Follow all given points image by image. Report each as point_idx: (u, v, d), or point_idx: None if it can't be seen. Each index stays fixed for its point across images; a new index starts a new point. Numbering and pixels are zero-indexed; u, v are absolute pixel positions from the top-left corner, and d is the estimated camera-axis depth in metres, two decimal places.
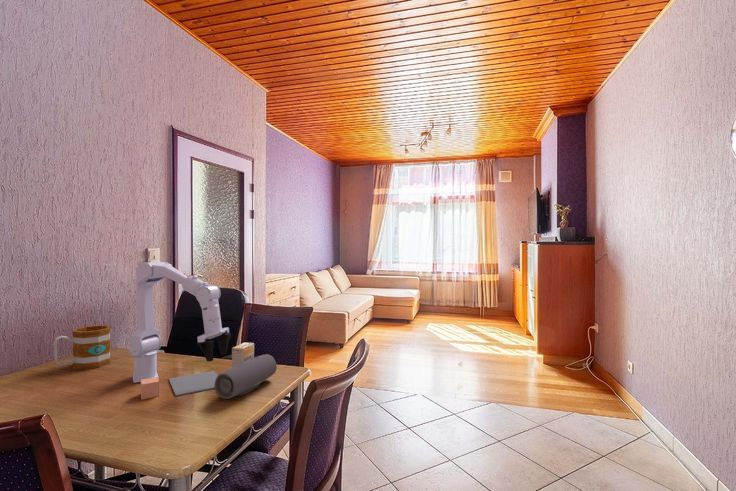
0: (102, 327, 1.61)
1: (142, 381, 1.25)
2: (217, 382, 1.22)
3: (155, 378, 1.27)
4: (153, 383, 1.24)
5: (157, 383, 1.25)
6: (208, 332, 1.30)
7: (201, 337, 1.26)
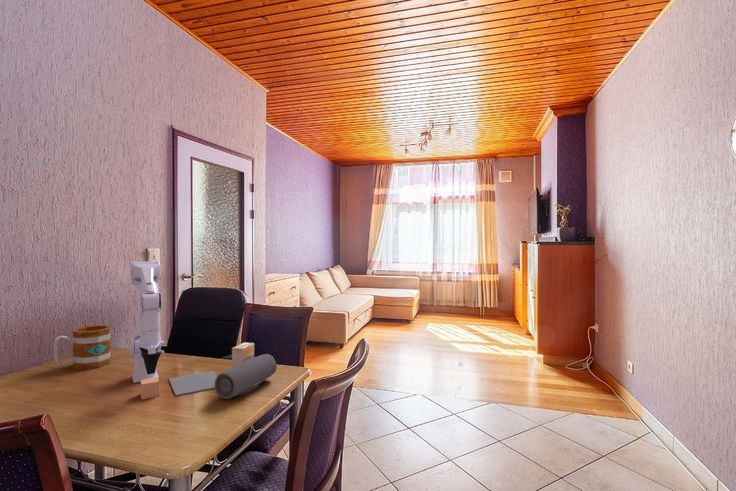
0: (102, 327, 1.61)
1: (142, 381, 1.25)
2: (217, 382, 1.22)
3: (155, 378, 1.27)
4: (153, 383, 1.24)
5: (157, 383, 1.25)
6: (151, 343, 1.23)
7: (154, 348, 1.20)
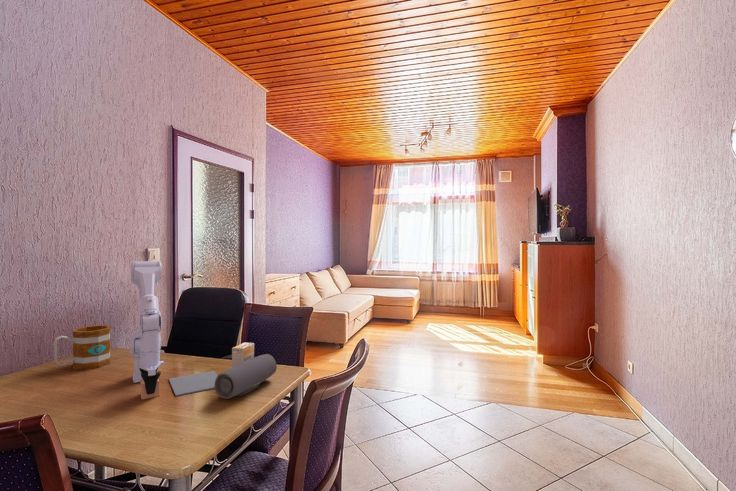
0: (102, 327, 1.61)
1: (142, 381, 1.25)
2: (217, 382, 1.22)
3: None
4: None
5: (157, 383, 1.25)
6: (151, 364, 1.23)
7: (154, 370, 1.20)
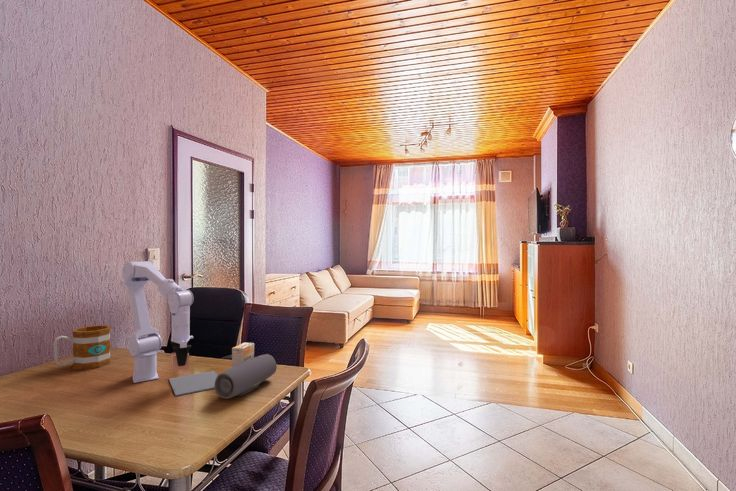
0: (102, 327, 1.61)
1: (173, 354, 1.31)
2: (217, 382, 1.22)
3: None
4: None
5: (187, 356, 1.31)
6: (182, 338, 1.30)
7: (185, 342, 1.27)
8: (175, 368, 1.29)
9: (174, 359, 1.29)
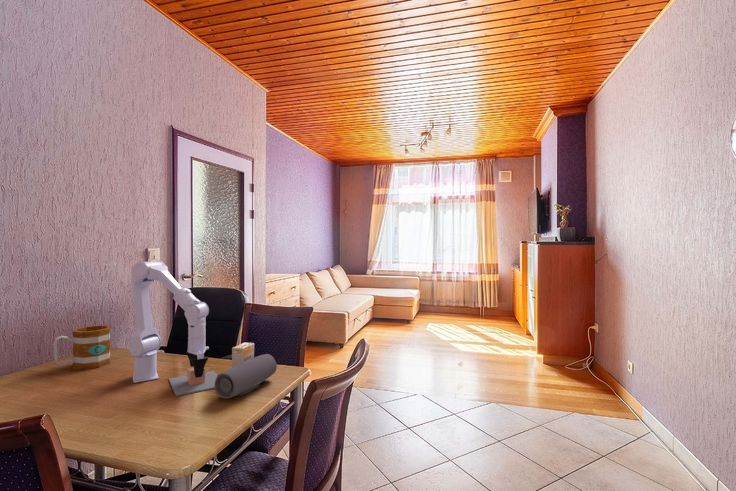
0: (102, 327, 1.61)
1: (189, 368, 1.35)
2: (217, 382, 1.22)
3: None
4: None
5: None
6: (198, 349, 1.34)
7: (202, 354, 1.31)
8: (192, 382, 1.33)
9: (191, 374, 1.33)
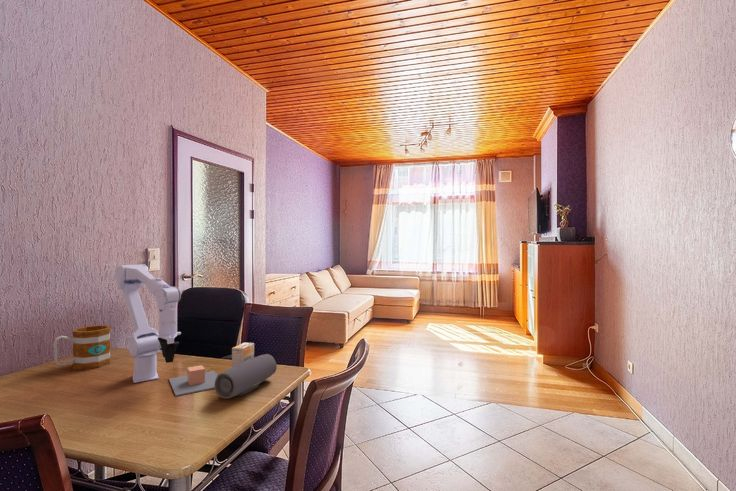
0: (102, 327, 1.61)
1: (189, 368, 1.35)
2: (217, 382, 1.22)
3: (200, 366, 1.38)
4: (199, 371, 1.35)
5: (203, 370, 1.35)
6: (169, 334, 1.31)
7: (172, 338, 1.28)
8: (192, 382, 1.33)
9: (191, 374, 1.33)
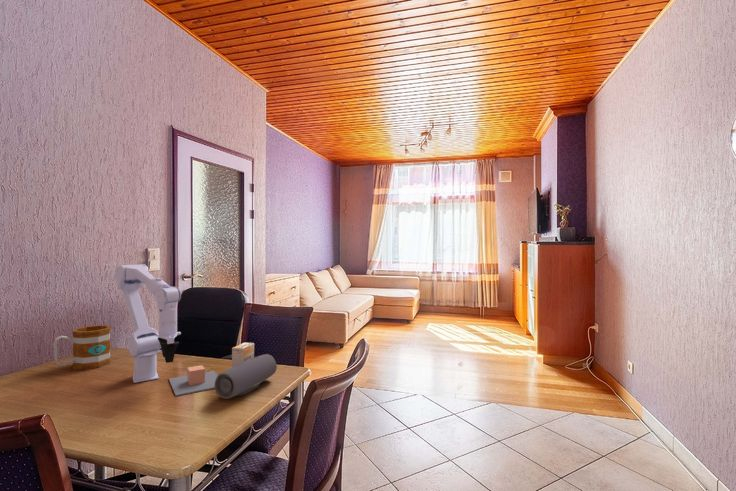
0: (102, 327, 1.61)
1: (189, 368, 1.35)
2: (217, 382, 1.22)
3: (200, 366, 1.38)
4: (199, 371, 1.35)
5: (203, 370, 1.35)
6: (169, 334, 1.31)
7: (172, 338, 1.28)
8: (192, 382, 1.33)
9: (191, 374, 1.33)
